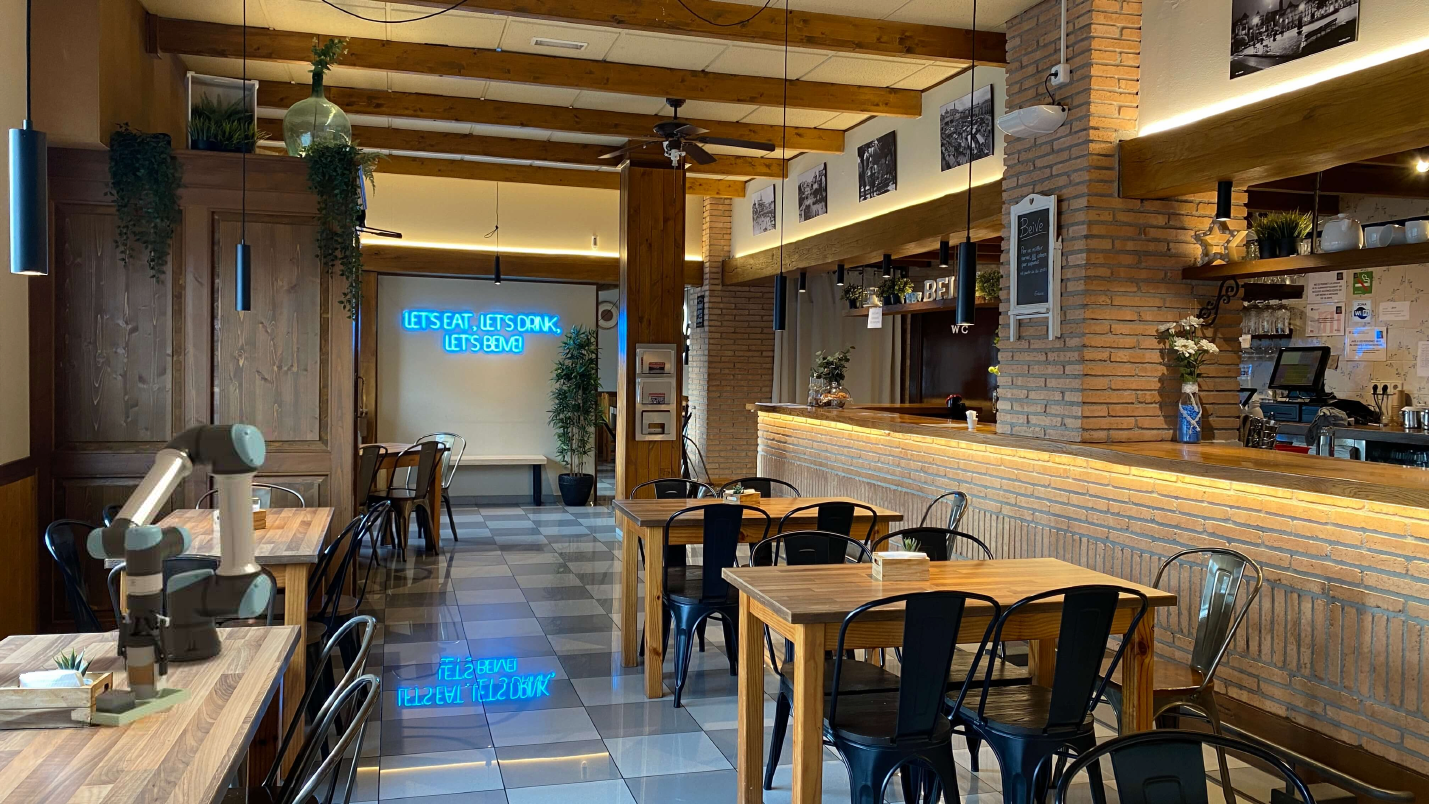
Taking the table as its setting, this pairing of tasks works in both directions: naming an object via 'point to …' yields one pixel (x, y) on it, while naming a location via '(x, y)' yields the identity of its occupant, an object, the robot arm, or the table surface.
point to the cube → (115, 701)
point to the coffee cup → (141, 665)
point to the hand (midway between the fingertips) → (146, 687)
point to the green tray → (143, 707)
